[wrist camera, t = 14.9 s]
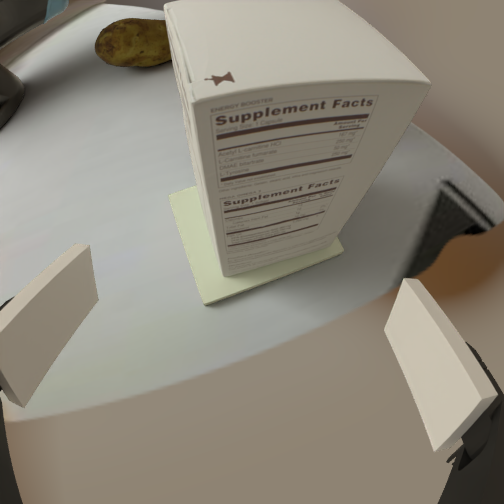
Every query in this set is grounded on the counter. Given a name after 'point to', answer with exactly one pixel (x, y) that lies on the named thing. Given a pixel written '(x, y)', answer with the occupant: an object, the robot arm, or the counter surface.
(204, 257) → the sticky note pad
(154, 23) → the potato
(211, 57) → the supplement box
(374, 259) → the counter surface
